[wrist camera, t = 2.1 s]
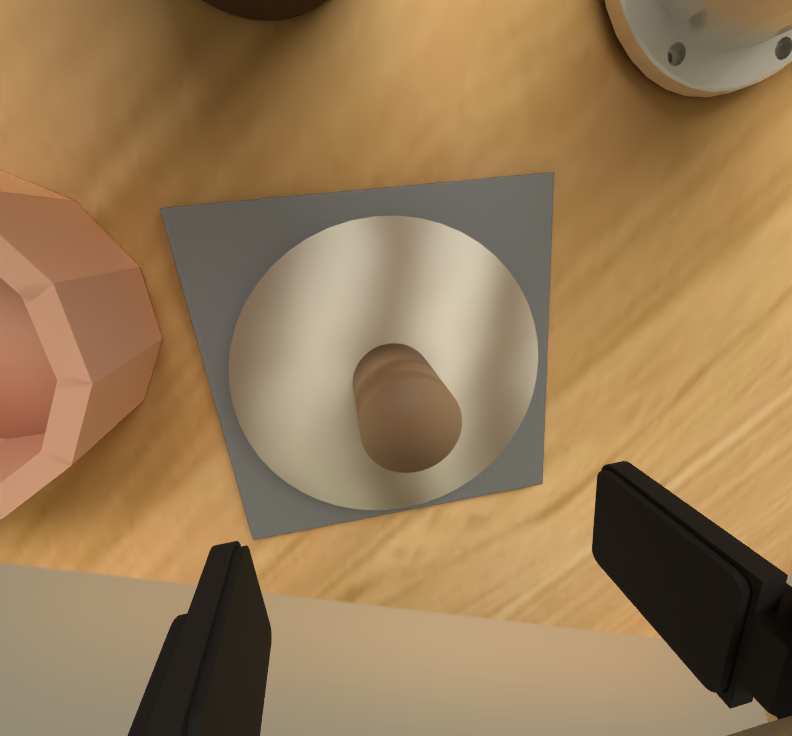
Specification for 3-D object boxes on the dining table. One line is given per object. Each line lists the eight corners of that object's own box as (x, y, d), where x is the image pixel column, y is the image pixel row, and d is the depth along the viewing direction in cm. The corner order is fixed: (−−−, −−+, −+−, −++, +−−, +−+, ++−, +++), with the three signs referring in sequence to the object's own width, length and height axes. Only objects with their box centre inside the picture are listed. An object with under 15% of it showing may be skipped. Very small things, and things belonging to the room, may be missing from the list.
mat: (548, 173, 19) (554, 172, 19) (538, 479, 25) (542, 484, 25) (164, 208, 17) (159, 207, 17) (254, 533, 23) (253, 539, 23)
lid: (530, 200, 19) (617, 187, 13) (525, 471, 24) (586, 545, 19) (196, 235, 17) (129, 237, 11) (270, 519, 23) (250, 618, 17)
